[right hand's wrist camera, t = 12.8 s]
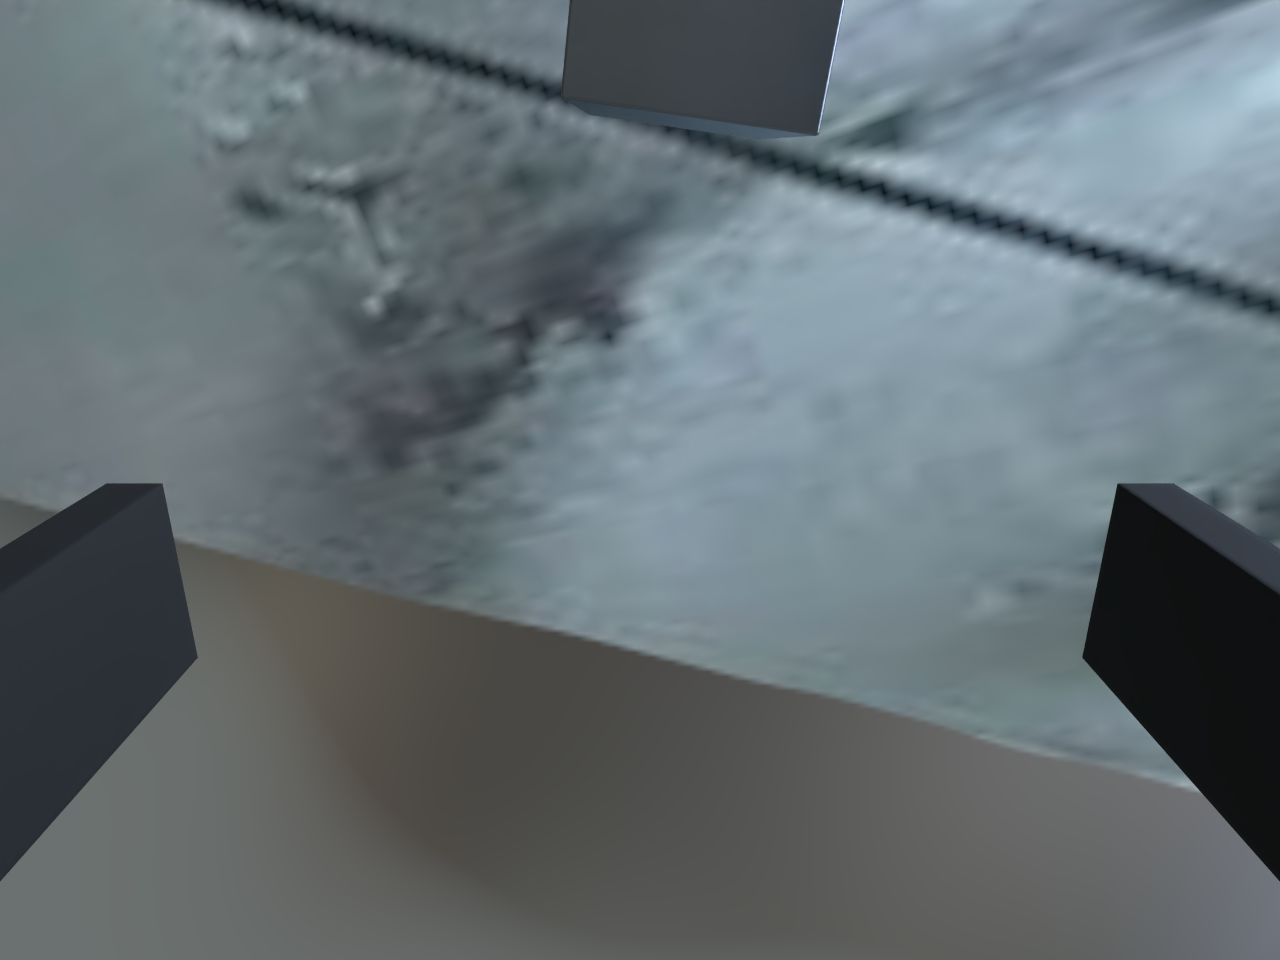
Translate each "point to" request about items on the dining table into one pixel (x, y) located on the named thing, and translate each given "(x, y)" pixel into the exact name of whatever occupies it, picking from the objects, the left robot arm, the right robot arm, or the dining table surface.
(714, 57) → the bar
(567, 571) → the dining table surface
